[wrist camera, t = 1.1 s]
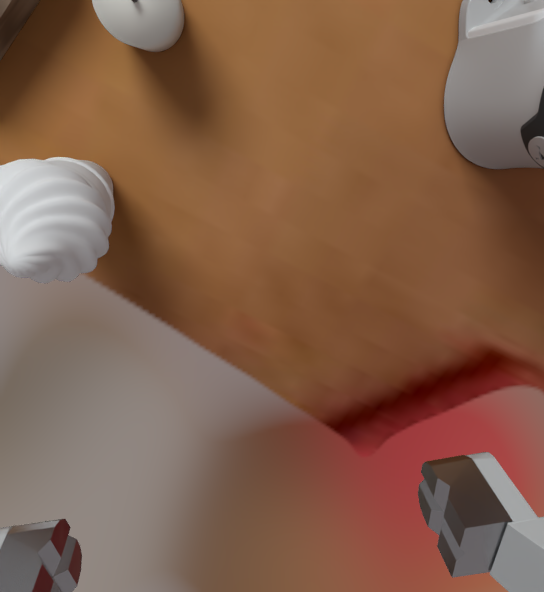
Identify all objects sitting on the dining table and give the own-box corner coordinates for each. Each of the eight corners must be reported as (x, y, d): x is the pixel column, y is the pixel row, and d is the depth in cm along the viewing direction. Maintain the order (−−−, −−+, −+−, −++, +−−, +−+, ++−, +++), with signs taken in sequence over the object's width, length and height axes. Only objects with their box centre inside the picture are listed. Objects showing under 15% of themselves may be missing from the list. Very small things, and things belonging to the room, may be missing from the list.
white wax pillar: (144, -46, 30) (122, -84, 22) (197, 14, 32) (193, -3, 25) (102, 12, 31) (69, -6, 24) (156, 66, 33) (141, 65, 26)
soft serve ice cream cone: (25, 135, 34) (-104, 179, 20) (129, 133, 35) (73, 174, 21) (51, 231, 38) (-42, 323, 24) (143, 227, 39) (105, 313, 25)
